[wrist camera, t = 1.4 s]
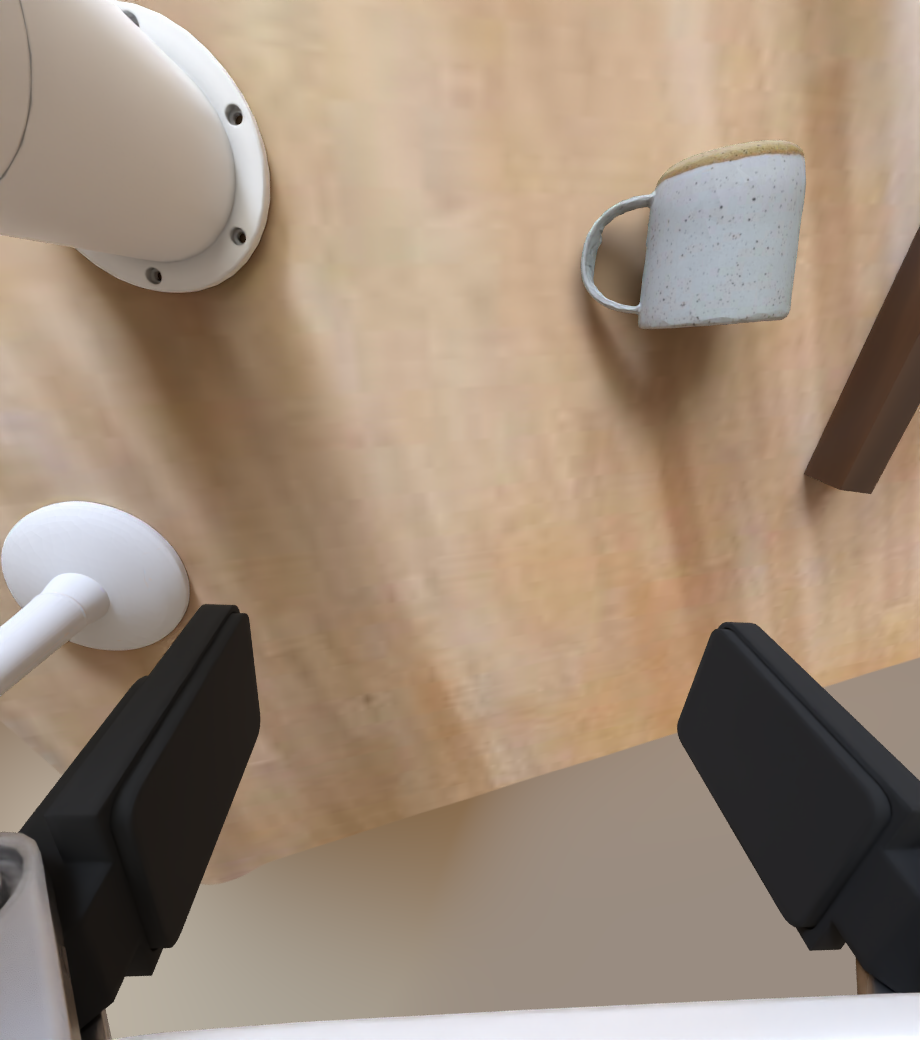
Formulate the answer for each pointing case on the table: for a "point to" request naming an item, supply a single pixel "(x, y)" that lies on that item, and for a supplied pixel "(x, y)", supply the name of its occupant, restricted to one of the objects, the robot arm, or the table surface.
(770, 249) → the ceramic mug
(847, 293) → the table surface
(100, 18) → the robot arm
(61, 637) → the candlestick
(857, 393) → the board
